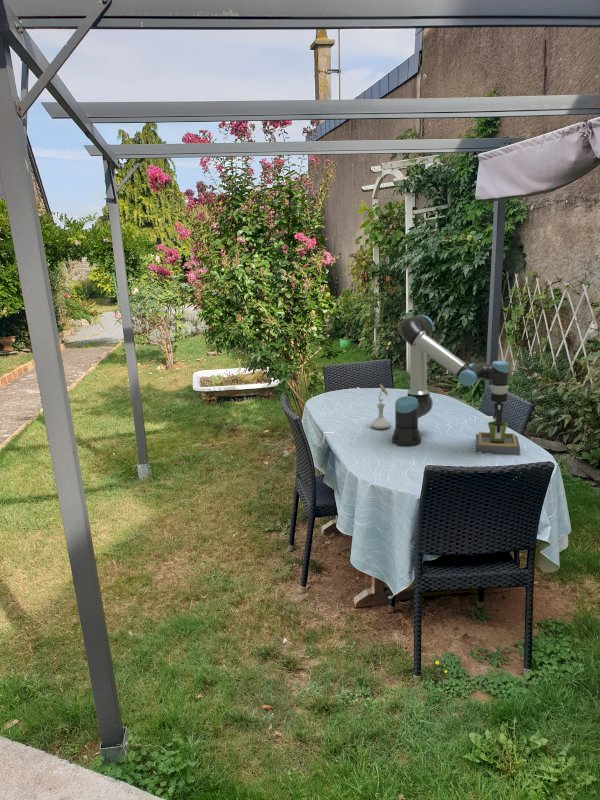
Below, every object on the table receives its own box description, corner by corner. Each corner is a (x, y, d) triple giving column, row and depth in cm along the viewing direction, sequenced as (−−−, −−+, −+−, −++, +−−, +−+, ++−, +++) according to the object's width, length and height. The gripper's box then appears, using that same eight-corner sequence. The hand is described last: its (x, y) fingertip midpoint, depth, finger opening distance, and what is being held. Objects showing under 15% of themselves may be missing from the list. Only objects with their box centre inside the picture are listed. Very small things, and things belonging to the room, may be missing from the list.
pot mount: (476, 452, 279) (476, 442, 278) (475, 441, 296) (476, 431, 295) (519, 455, 274) (520, 444, 272) (516, 443, 290) (517, 433, 289)
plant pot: (494, 444, 278) (495, 427, 276) (483, 438, 287) (484, 422, 285) (511, 442, 281) (511, 425, 278) (499, 436, 289) (500, 420, 287)
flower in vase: (390, 430, 320) (390, 387, 314) (370, 430, 322) (369, 387, 316) (391, 424, 332) (391, 382, 326) (372, 423, 335) (371, 382, 328)
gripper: (508, 399, 265) (506, 442, 270) (505, 387, 288) (504, 427, 293) (491, 398, 267) (490, 441, 272) (490, 386, 290) (488, 426, 296)
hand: (497, 434), depth 283 cm, fingers open, 13 cm apart
